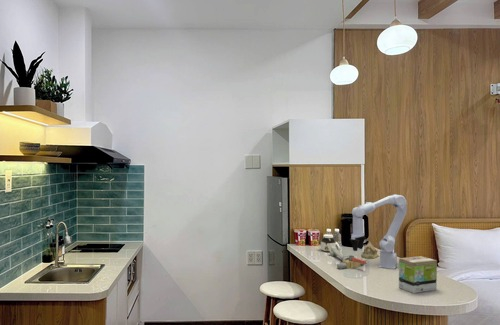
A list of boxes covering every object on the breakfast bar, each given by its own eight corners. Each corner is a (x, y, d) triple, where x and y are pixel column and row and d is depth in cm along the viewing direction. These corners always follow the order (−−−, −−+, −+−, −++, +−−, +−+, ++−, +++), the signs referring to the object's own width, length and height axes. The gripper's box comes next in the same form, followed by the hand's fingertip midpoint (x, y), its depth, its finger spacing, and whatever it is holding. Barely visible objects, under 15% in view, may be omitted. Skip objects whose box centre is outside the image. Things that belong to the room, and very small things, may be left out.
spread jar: (319, 251, 265) (319, 234, 265) (328, 249, 273) (328, 233, 273) (333, 254, 256) (333, 237, 257) (342, 251, 264) (342, 235, 264)
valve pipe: (359, 263, 230) (359, 257, 230) (366, 265, 225) (366, 259, 225) (335, 267, 220) (335, 261, 220) (342, 270, 215) (342, 263, 215)
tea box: (414, 294, 174) (414, 262, 174) (398, 287, 183) (398, 257, 184) (437, 290, 180) (437, 259, 180) (420, 284, 189) (420, 255, 190)
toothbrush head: (343, 258, 229) (328, 244, 254) (343, 268, 230) (328, 253, 254) (351, 257, 230) (335, 244, 254) (351, 268, 231) (335, 253, 255)
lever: (347, 259, 223) (347, 255, 223) (351, 259, 224) (351, 255, 224) (363, 264, 212) (363, 260, 212) (367, 264, 213) (367, 259, 214)
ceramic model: (362, 253, 259) (362, 239, 259) (379, 255, 254) (379, 240, 254) (359, 258, 246) (359, 242, 246) (377, 259, 241) (377, 244, 242)
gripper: (356, 225, 233) (356, 247, 232) (346, 228, 221) (346, 250, 221) (367, 226, 228) (367, 248, 228) (357, 229, 217) (357, 252, 217)
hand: (357, 249), depth 224 cm, fingers open, 7 cm apart
